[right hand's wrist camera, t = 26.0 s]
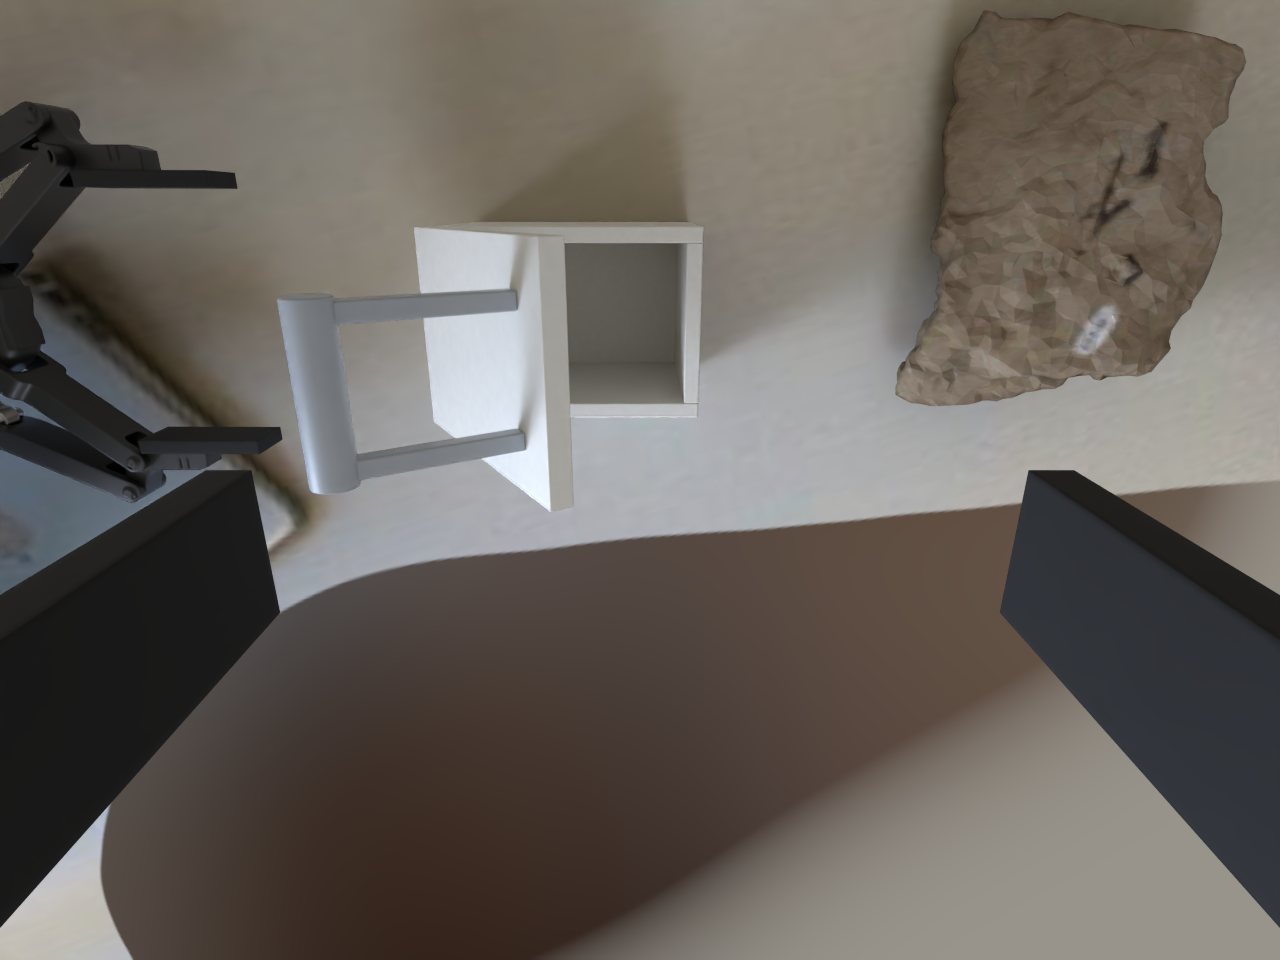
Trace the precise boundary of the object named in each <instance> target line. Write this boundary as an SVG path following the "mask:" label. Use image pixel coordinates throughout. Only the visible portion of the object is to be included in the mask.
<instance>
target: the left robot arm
mask: <svg viewBox="0 0 1280 960" xmlns="http://www.w3.org/2000/svg"><path fill="white" fill-rule="evenodd" d="M79 129H80V120H79V118H78V116H77V115H76V114H75V113H74V112H73V111H72V110H70V109H67V108H61V107H56V106H51V105H45V104H39V103H33V102H26V101H25V102H22V103H20V104H19V105H17V106H16V107H14V108H12V109H11V110H9V111H8V112H6V113H5V114H3V115H2V116H0V181H2V180H3V179H5V178H6V177H8V176H10V175H11V174H13V173H14V172H16V171H17V170H19V169H21V168H22V167H24V166H25V165H27V164H28V163H30V162H31V163H30V164H29V165H28V167H27V168H26V169H25V170H24V172H23V173H22V174H21V175H20V176H19V178H18V179H17V180H16V181H15V183H14V184H13V185H12V186H11V187H10V189H9V190H8V191H7V192H6V194H5V195H4V196H3V197H2V198H1V200H0V393H1V394H3V395H4V396H6V397H8V398H11V399H15V400H21V401H24V402H26V403H27V404H29V405H30V406H32V407H33V408H35V409H36V410H38V411H39V412H41V413H42V414H44V415H45V416H47V417H49V418H50V419H52V420H53V421H55V422H56V423H58V424H59V425H61V426H62V427H64V428H65V429H67V430H68V431H67V430H65V429H62V428H60V427H57V426H55V425H53V424H50V423H48V422H45V421H43V420H40V419H36V418H32V417H27V416H24V412H23V410H22V409H20V408H17V407H16V408H12V407H10V406H7V405H5V404H3V403H1V402H0V450H4V451H6V452H8V453H11V454H13V455H16V456H18V457H21V458H23V459H25V460H28V461H30V462H33V463H35V464H38V465H40V466H42V467H45V468H47V469H50V470H52V471H54V472H57V473H59V474H62V475H64V476H67V477H69V478H71V479H74V480H76V481H79V482H81V483H84V484H86V485H88V486H91V487H93V488H96V489H98V490H101V491H103V492H105V493H108V494H110V495H113V496H115V497H117V498H120V499H122V500H125V501H127V502H136V501H138V500H139V499H141V498H143V497H145V496H146V495H148V494H150V493H151V492H153V491H155V490H157V489H158V488H160V487H162V486H163V485H165V483H166V476H165V474H164V473H163V470H201V469H203V468H206V467H208V466H210V465H212V464H213V463H215V462H217V461H218V460H220V459H222V457H221V454H261V453H262V452H264V451H265V450H267V449H268V448H270V447H271V446H273V445H275V444H276V443H278V442H279V441H281V440H282V434H281V429H280V427H167V428H164V429H162V430H160V431H158V432H156V433H154V434H153V433H152V432H150V431H149V430H147V429H146V428H144V427H143V426H141V425H140V424H139V423H137V422H136V421H134V420H133V419H131V418H130V417H128V416H127V415H125V414H124V413H122V412H121V411H119V410H118V409H116V408H115V407H113V406H112V405H111V404H109V403H108V402H106V401H105V400H103V399H102V398H100V397H99V396H97V395H96V394H94V393H93V392H91V391H90V390H88V389H87V388H85V387H84V386H83V385H81V384H80V383H78V382H77V381H75V380H74V379H72V378H71V377H69V376H68V375H67V374H66V369H65V367H64V366H62V365H61V364H59V363H58V362H57V361H55V360H54V359H52V358H51V357H49V356H48V355H46V354H45V353H43V352H42V351H40V344H45V339H44V336H43V333H42V329H41V327H40V326H39V324H38V322H37V320H36V318H35V317H34V312H33V298H32V294H31V291H30V287H29V286H24V285H23V284H22V282H21V281H20V279H19V278H18V277H17V275H18V274H19V273H20V272H21V271H22V269H23V268H24V267H25V266H26V265H27V264H28V262H29V261H30V260H31V259H32V258H33V256H34V253H33V252H32V250H33V249H34V247H35V246H36V245H37V244H38V243H39V241H40V240H41V239H42V238H43V237H44V236H45V234H46V233H47V232H48V231H49V230H50V229H51V227H52V226H53V225H54V224H55V223H56V222H57V220H58V219H59V218H60V217H61V216H62V214H63V213H64V212H65V211H66V210H67V209H68V207H69V206H70V205H71V204H72V203H73V202H74V200H75V199H76V198H77V197H78V196H79V195H80V193H81V192H82V191H83V190H84V189H85V187H94V188H202V189H237V183H236V177H235V173H230V172H219V171H207V170H161V168H160V163H159V158H158V153H157V151H155V150H152V149H150V148H147V147H142V146H134V145H91V144H90V143H88V142H87V141H86V140H85V139H84V137H83V136H82V134H81V133H80V131H79ZM24 369H26V370H28V371H24V372H21V371H23V370H24ZM69 431H70V432H69Z"/></svg>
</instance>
